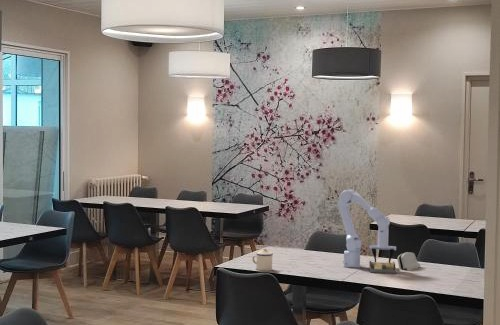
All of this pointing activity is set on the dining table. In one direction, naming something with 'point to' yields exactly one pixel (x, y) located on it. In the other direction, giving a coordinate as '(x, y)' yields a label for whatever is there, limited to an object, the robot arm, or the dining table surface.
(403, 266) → the light grey rounded slab
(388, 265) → the tan wooden cube
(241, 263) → the dining table surface
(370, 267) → the tray
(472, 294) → the dining table surface
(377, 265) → the wooden cube
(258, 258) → the teacup with lid
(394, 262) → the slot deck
